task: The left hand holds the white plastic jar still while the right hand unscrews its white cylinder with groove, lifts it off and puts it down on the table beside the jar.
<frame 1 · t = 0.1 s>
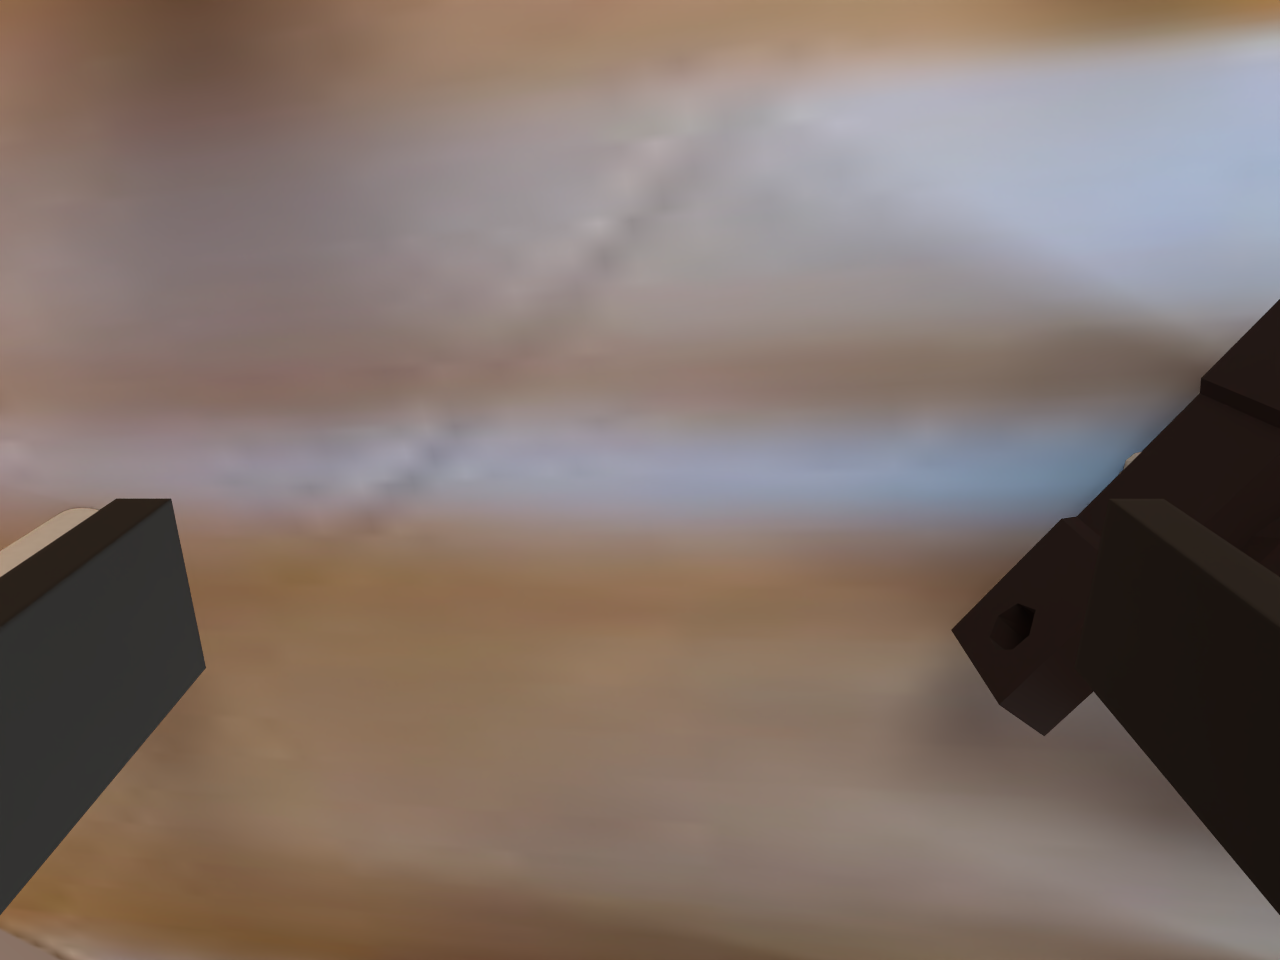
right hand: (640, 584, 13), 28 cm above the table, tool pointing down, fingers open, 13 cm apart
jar: (93, 552, 43), on the table
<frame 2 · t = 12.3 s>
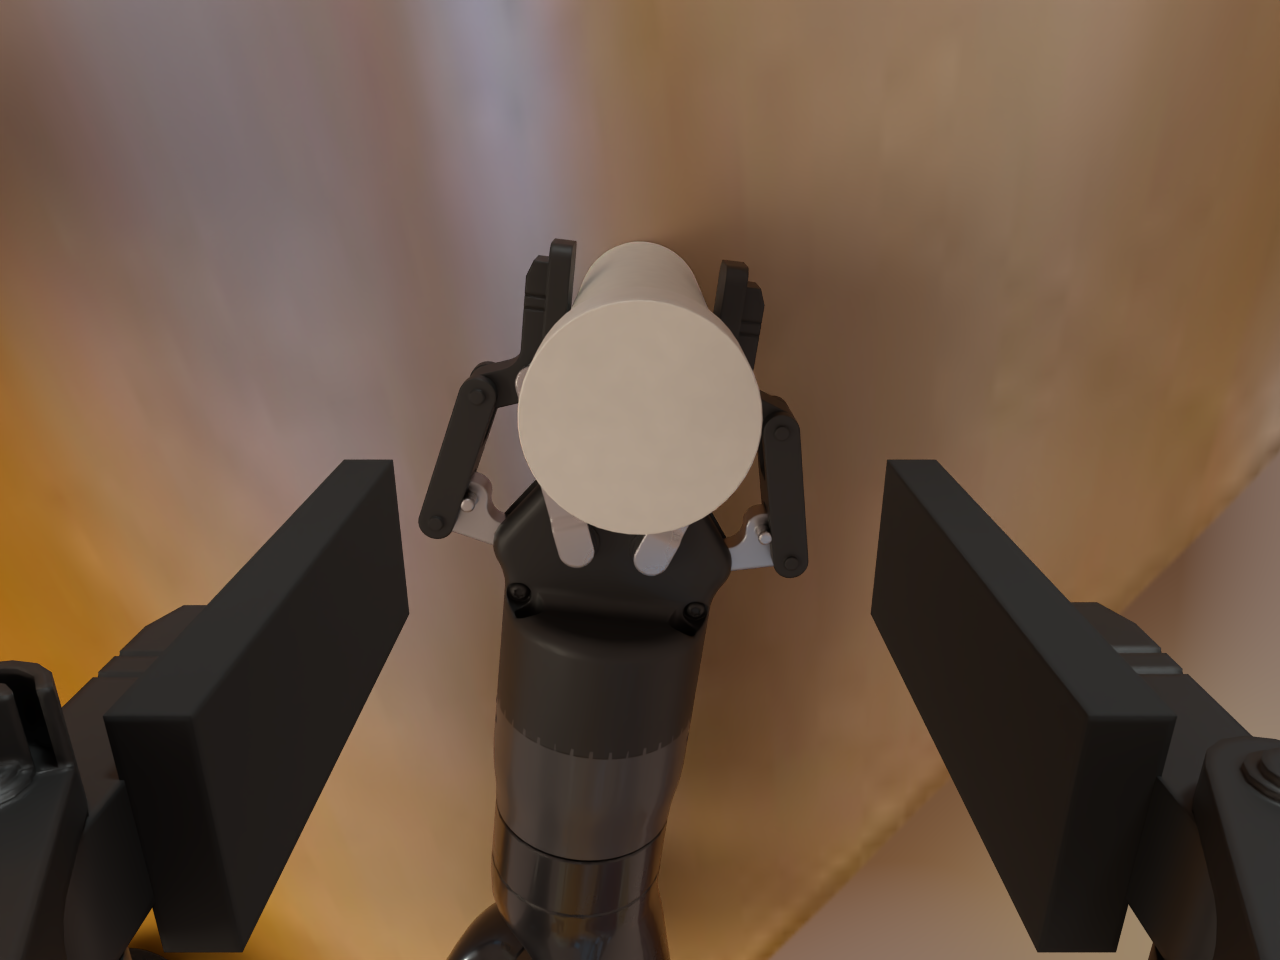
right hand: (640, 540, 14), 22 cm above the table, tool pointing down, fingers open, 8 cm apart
left hand: (648, 255, 28), fingers closed on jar, 5 cm apart
white cylinder with groove: (639, 418, 20), point 16 cm above the table, screwed on, not yet turned
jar: (639, 303, 35), on the table, touching left hand
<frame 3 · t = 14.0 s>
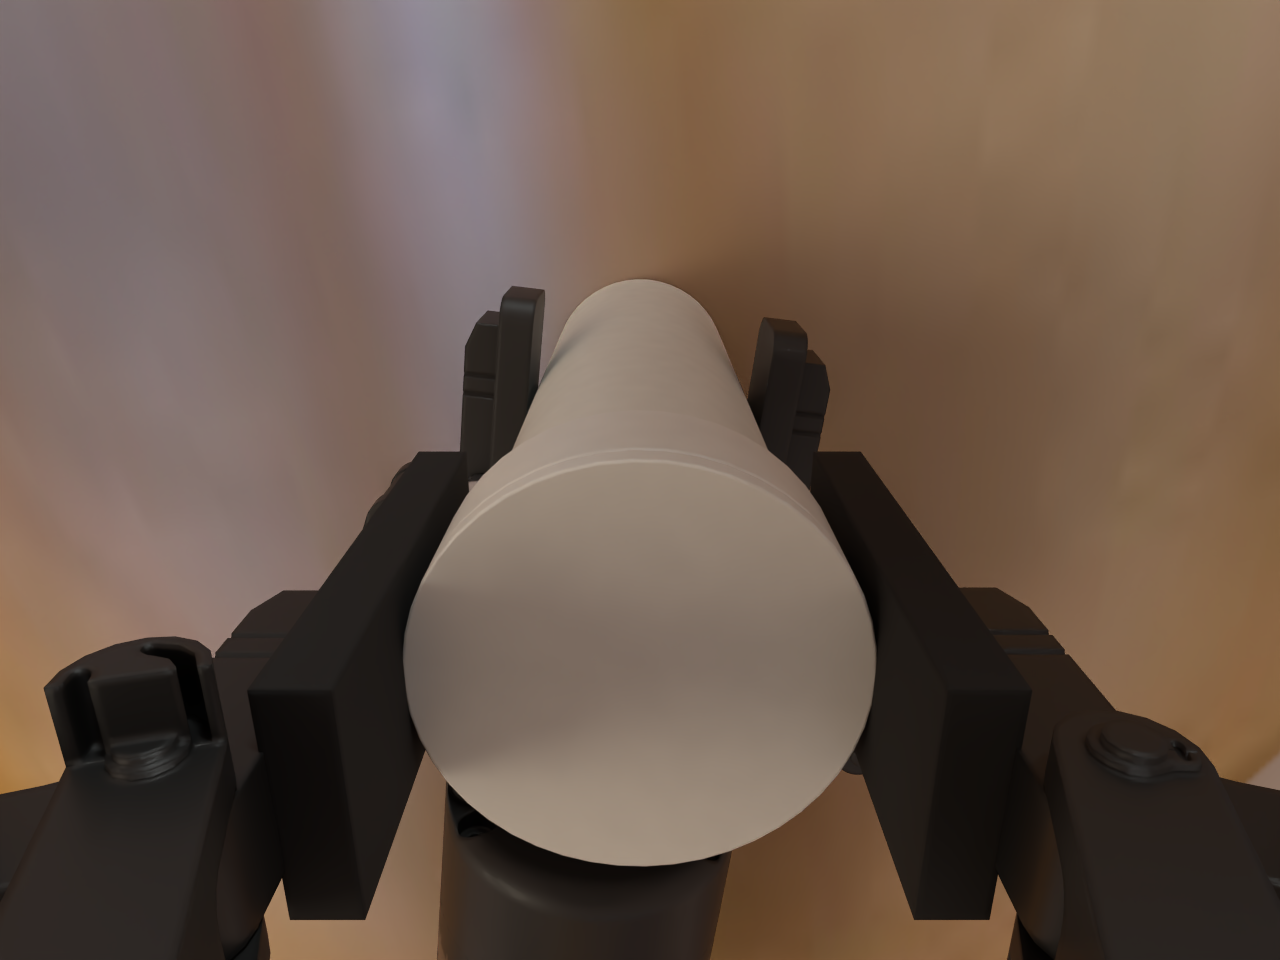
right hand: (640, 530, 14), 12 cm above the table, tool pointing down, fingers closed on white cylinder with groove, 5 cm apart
white cylinder with groove: (639, 666, 11), point 16 cm above the table, screwed on, not yet turned, touching right hand
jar: (639, 363, 25), on the table, touching left hand
when the right hand's fingers open (12 cm above the table, at t = 15.4 s): white cylinder with groove stays where it is, point 16 cm above the table.
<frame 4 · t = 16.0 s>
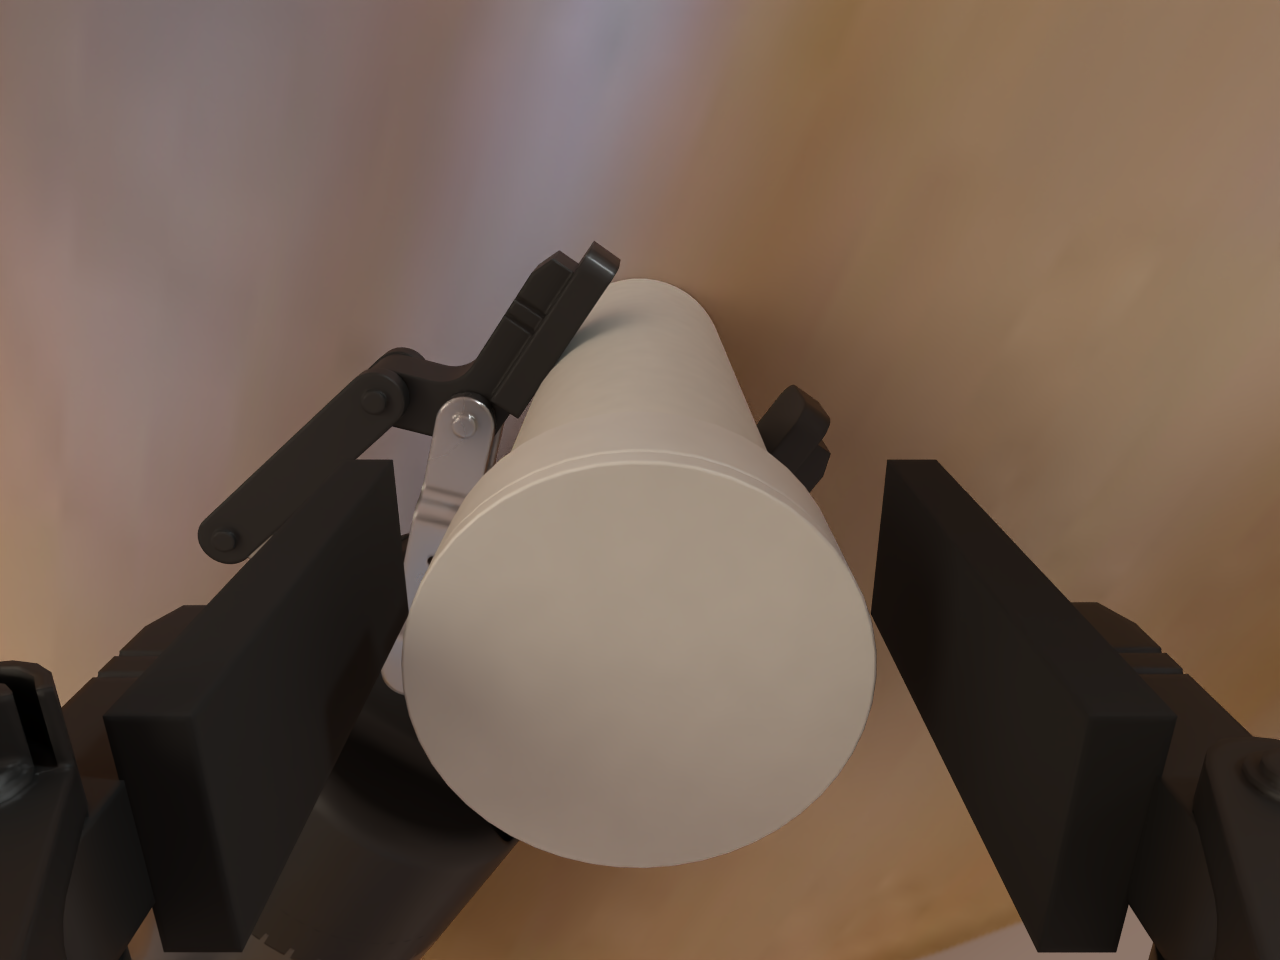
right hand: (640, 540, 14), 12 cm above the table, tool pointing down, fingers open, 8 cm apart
left hand: (708, 332, 19), fingers closed on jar, 5 cm apart
white cylinder with groove: (639, 668, 11), point 16 cm above the table, turned 88° so far, risen 0.3 cm, still on its thread
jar: (639, 362, 26), on the table, touching left hand
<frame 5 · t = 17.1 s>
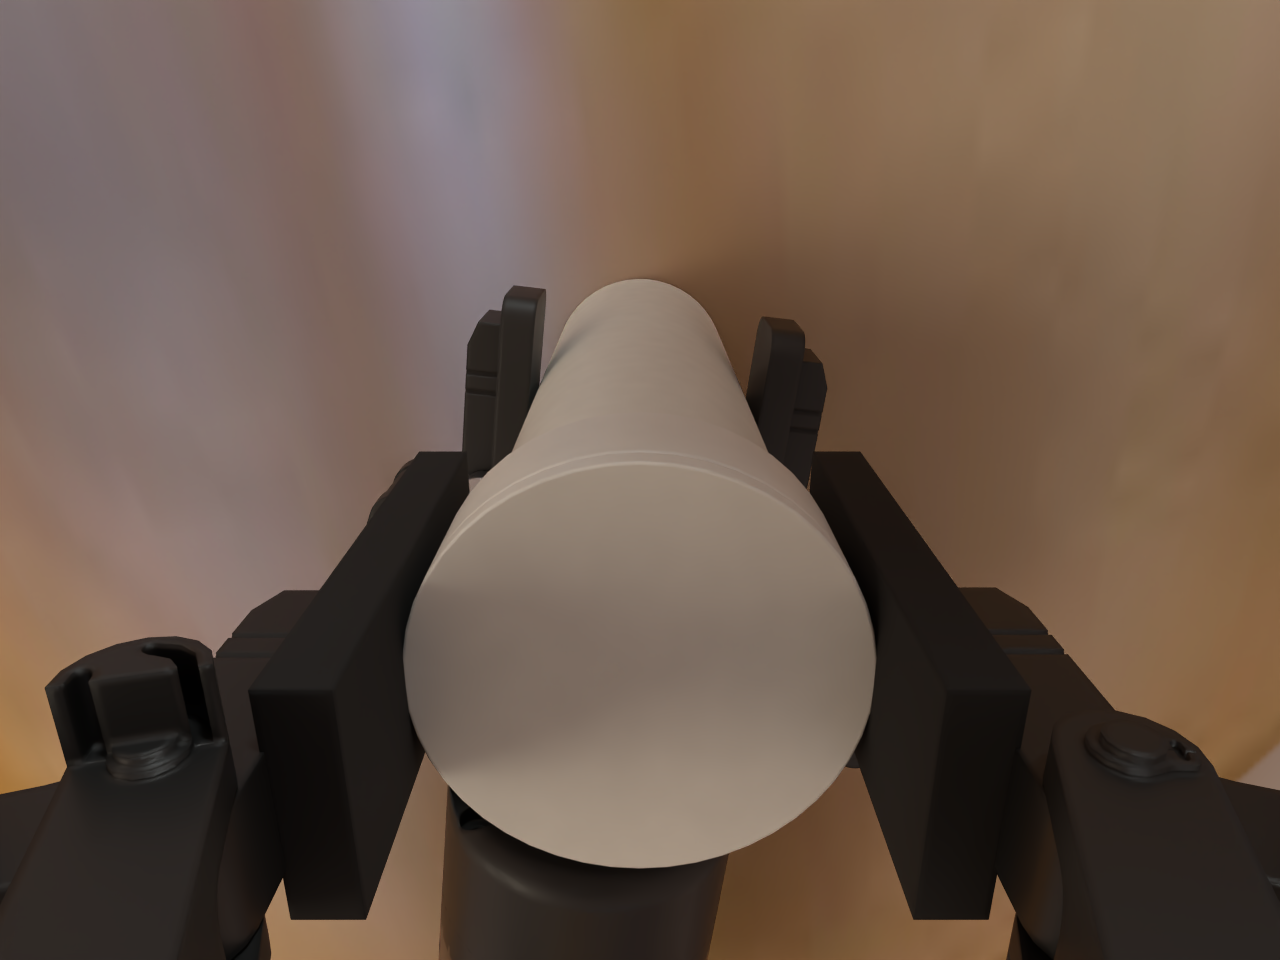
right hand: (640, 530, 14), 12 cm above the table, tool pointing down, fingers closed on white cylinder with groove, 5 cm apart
white cylinder with groove: (639, 668, 11), point 16 cm above the table, turned 88° so far, risen 0.3 cm, still on its thread, touching right hand
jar: (639, 362, 26), on the table, touching left hand
when the right hand's fingers open (0 cm above the table, at t = 24.0 s): white cylinder with groove drops 3 cm, point 2 cm above the table.
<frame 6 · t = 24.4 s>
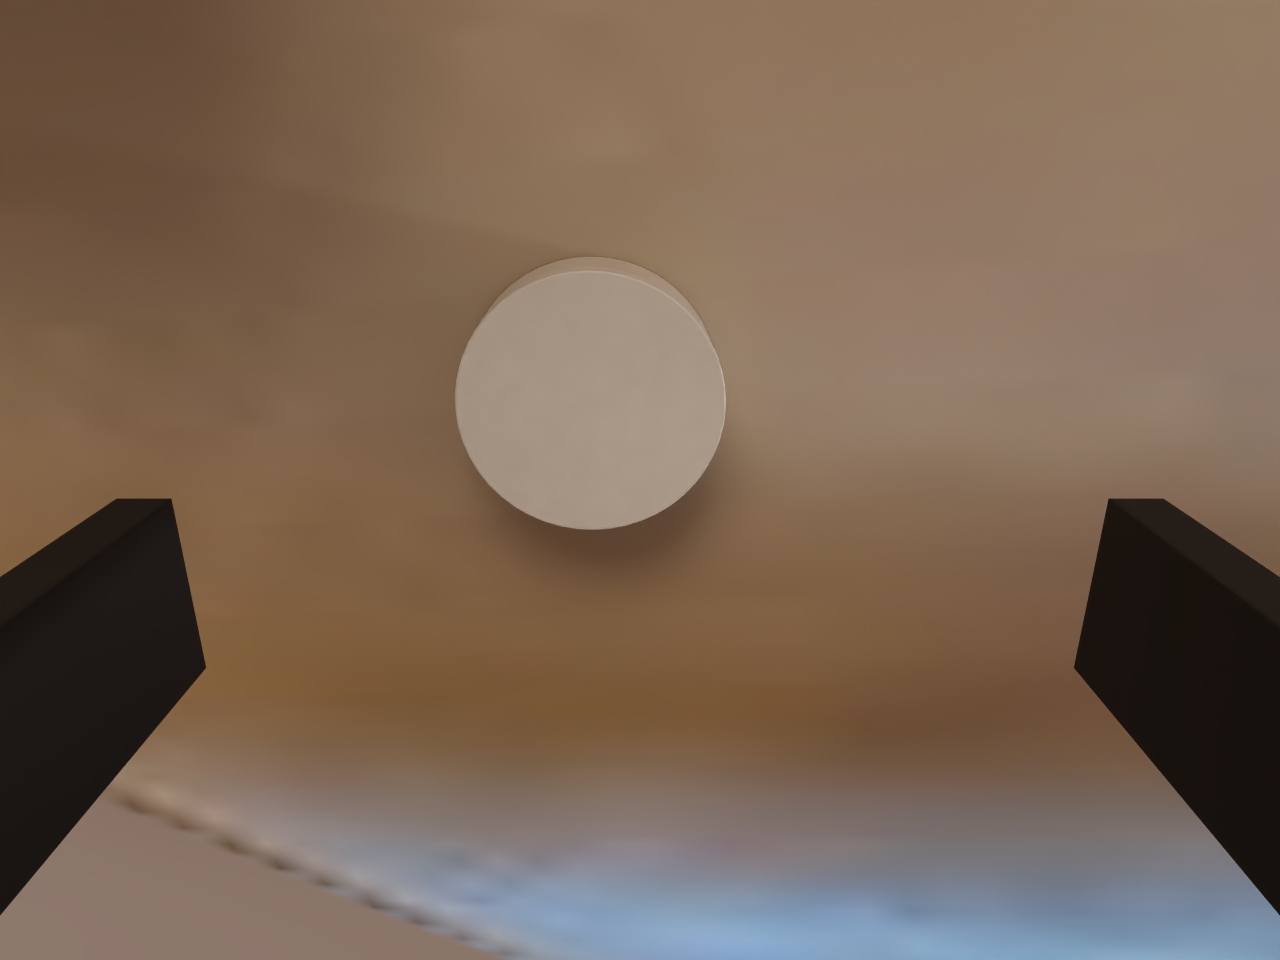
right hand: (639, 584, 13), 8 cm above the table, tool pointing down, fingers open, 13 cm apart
white cylinder with groove: (591, 403, 18), point 2 cm above the table, off its thread
when the left hand's fingers open (7 cm above the table, at t = 24.7 s): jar stays where it is, on the table.
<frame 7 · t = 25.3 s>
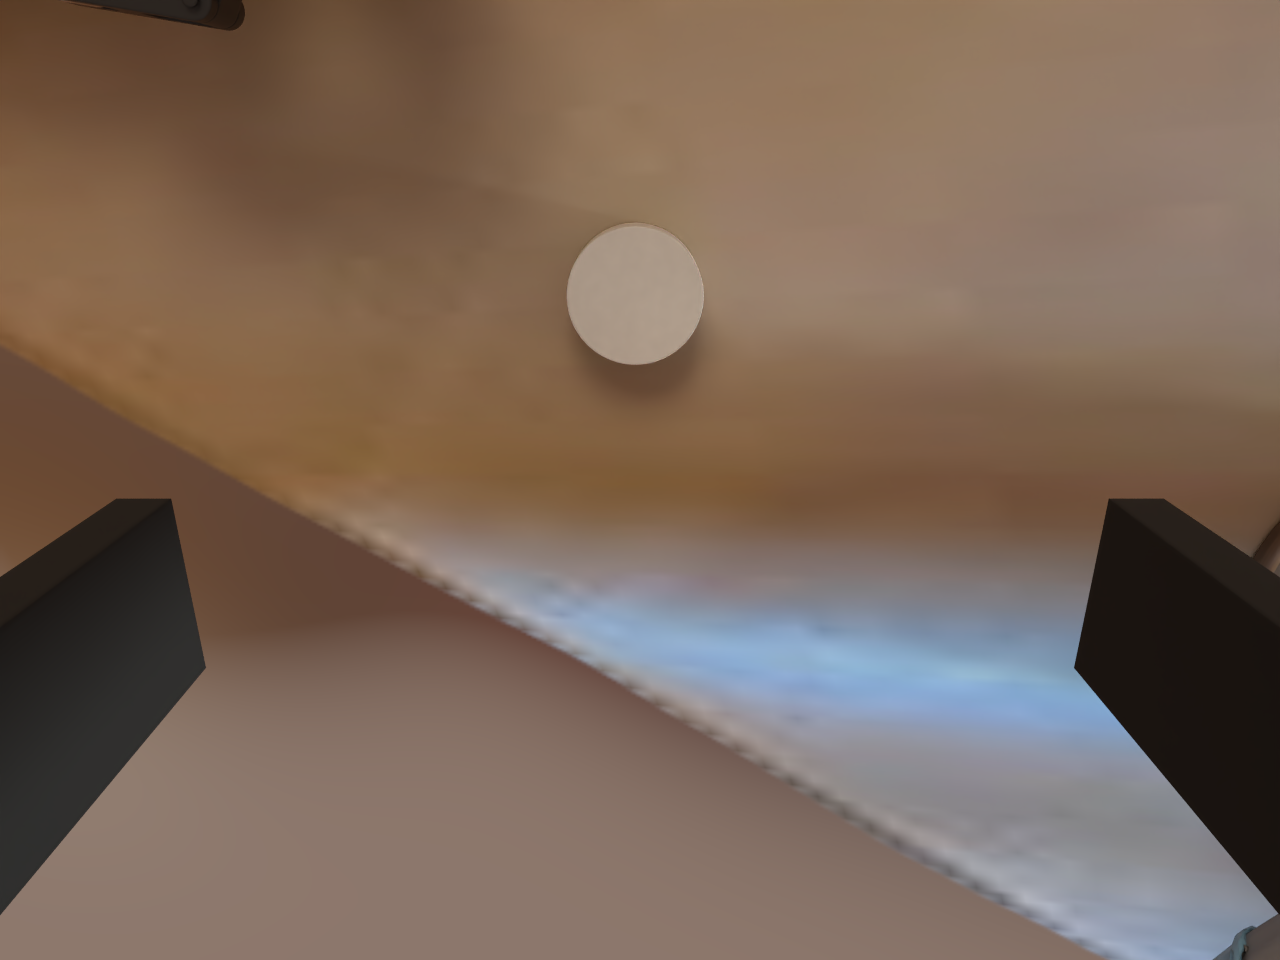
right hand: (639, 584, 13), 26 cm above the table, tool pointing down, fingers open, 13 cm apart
white cylinder with groove: (635, 296, 36), point 2 cm above the table, off its thread
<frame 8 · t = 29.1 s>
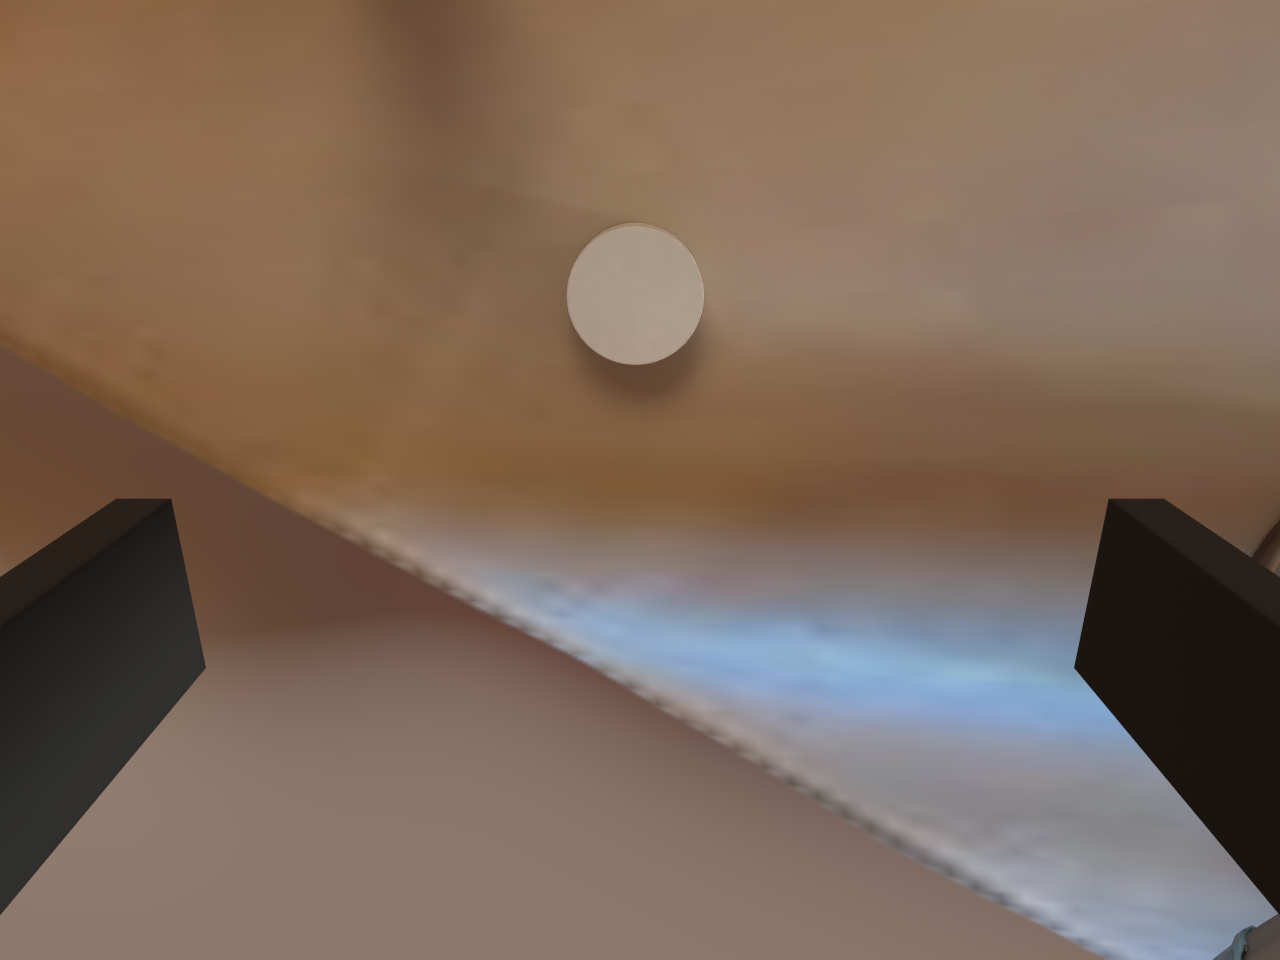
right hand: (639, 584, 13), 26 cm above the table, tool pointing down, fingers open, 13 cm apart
white cylinder with groove: (635, 296, 36), point 2 cm above the table, off its thread
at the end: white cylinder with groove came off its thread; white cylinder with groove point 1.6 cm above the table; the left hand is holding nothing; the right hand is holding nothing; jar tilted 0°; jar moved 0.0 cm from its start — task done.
